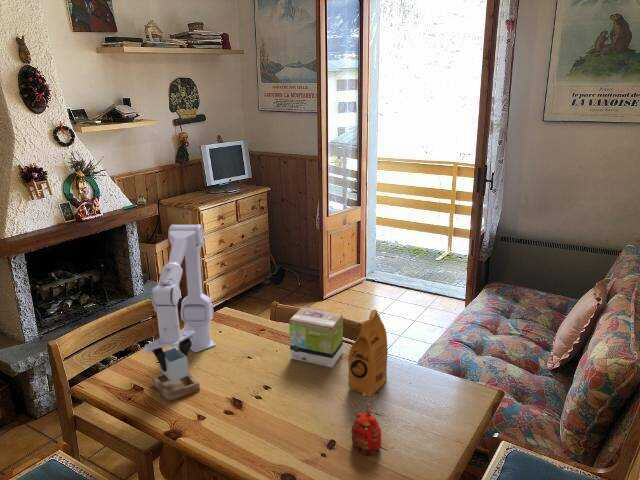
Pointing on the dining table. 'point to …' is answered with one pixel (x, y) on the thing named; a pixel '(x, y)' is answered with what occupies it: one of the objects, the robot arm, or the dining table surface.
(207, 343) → the robot arm
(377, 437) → the red clay folk toy
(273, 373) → the dining table surface
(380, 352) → the coffee package
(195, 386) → the shallow brown tray
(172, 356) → the small crate
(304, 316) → the tea box
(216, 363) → the dining table surface
